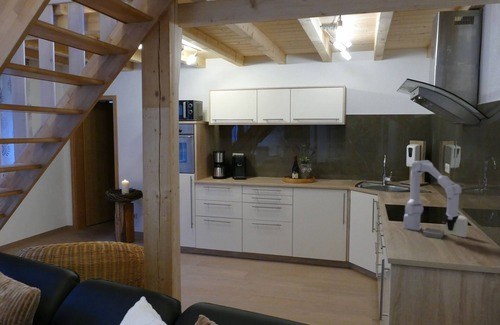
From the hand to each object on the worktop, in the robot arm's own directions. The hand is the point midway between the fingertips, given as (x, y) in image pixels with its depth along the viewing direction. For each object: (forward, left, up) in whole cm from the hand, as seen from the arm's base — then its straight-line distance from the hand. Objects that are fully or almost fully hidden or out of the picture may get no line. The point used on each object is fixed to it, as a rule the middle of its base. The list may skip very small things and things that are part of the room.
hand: (451, 229), depth 216 cm
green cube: (0, 0, -2) cm, 2 cm away
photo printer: (+2, +14, -7) cm, 16 cm away
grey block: (-10, +6, -7) cm, 14 cm away
